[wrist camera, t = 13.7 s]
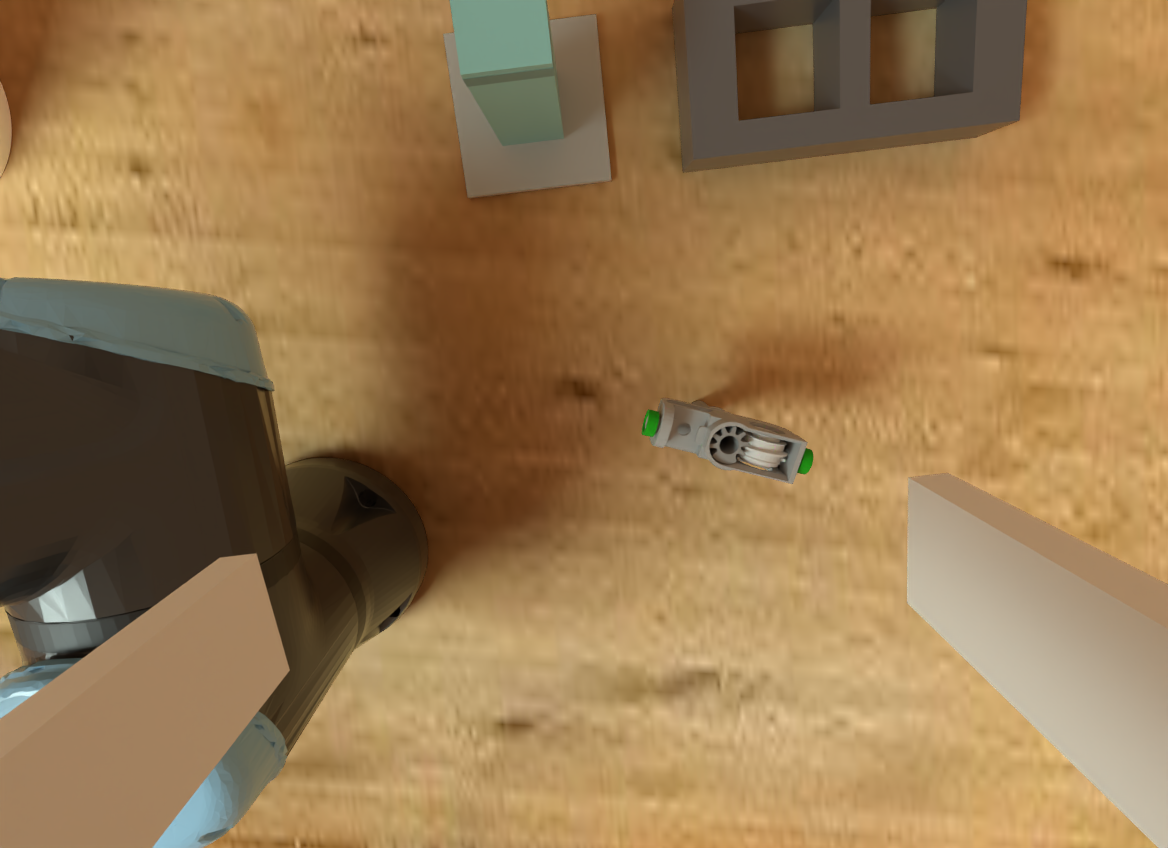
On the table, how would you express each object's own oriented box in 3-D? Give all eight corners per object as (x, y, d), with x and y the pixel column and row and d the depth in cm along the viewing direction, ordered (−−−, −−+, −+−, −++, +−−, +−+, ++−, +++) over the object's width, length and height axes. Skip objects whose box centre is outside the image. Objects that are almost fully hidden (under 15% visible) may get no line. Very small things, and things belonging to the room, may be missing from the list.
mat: (469, 198, 39) (467, 197, 39) (445, 37, 37) (443, 33, 36) (611, 181, 39) (611, 179, 38) (595, 18, 37) (596, 14, 36)
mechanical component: (638, 375, 42) (654, 401, 33) (768, 408, 43) (821, 443, 33) (628, 413, 43) (640, 449, 33) (756, 444, 43) (804, 489, 34)
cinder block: (682, 172, 39) (693, 159, 35) (672, 8, 37) (682, -25, 33) (975, 137, 38) (1019, 120, 34) (983, -32, 36) (1031, -71, 32)
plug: (502, 146, 38) (460, 75, 25) (493, 76, 37) (444, -33, 24) (564, 138, 38) (553, 63, 25) (556, 68, 37) (541, -46, 24)
